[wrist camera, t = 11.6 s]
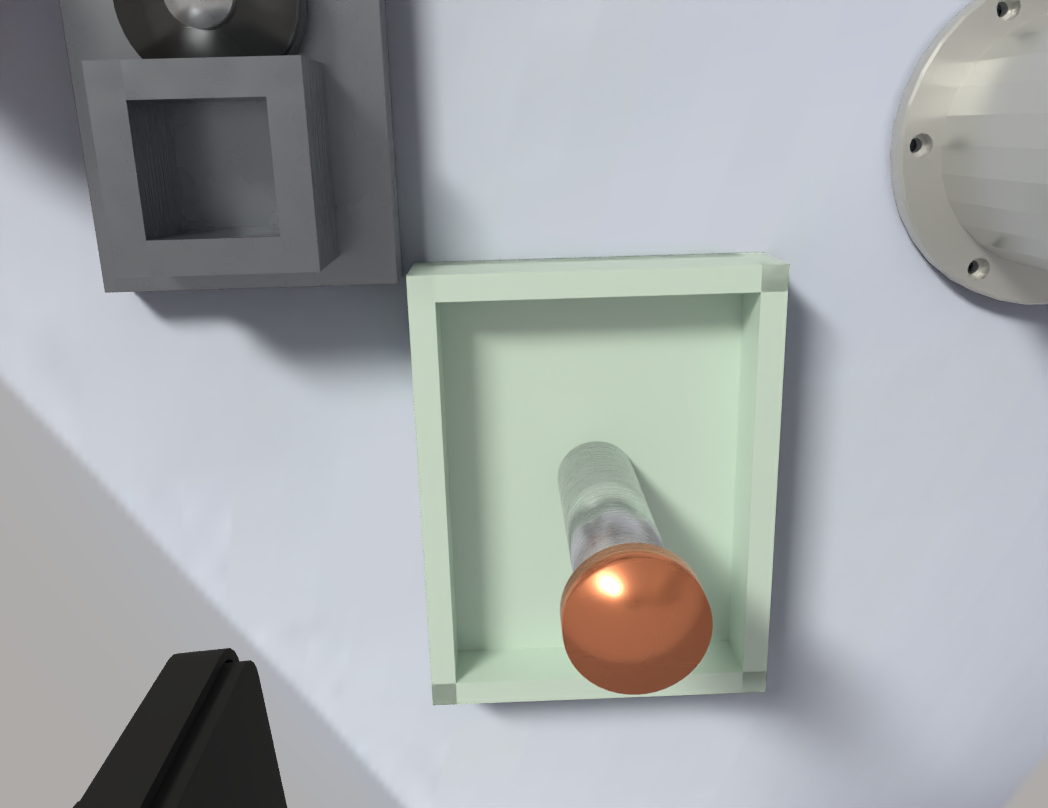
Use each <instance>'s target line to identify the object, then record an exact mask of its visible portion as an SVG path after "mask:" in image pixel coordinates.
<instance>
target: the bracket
mask: <svg viewBox="0 0 1048 808" xmlns="http://www.w3.org/2000/svg"><path fill="white" fill-rule="evenodd" d="M59 2H60V9H61V15H62V21H63V28H64V34H65V40H66V47H67V53H68V59H69V66H70V72H71V79H72V85H73V91H74V98H75V104H76V110H77V117H78V123H79V130H80V136H81V142H82V149H83V155H84V161H85V168H86V174H87V180H88V187H89V193H90V200H91V206H92V212H93V219H94V225H95V231H96V238H97V244H98V250H99V257H100V263H101V270H102V276H103V282H104V289H105V292H138V291H170V290H203V289H235V288H268V287H300V286H333V285H366V284H397V283H398V282H399V280H400V279H401V277H402V261H401V245H400V230H399V214H398V198H397V183H396V167H395V152H394V136H393V120H392V105H391V89H390V73H389V58H388V42H387V27H386V11H385V0H59Z"/></svg>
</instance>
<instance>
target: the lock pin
mask: <svg viewBox="0 0 1048 808" xmlns="http://www.w3.org/2000/svg"><path fill="white" fill-rule="evenodd" d="M557 480H558V487H559V493H560V499H561V505H562V511H563V518H564V524H565V530H566V536H567V542H568V548H569V554H570V560H571V566H572V572H573V573H572V575H571V576H570V578H569V579H568V581H567V583H566V585H565V587H564V590H563V593H562V597H561V602H560V620H561V628H562V636H563V642H564V646H565V650H566V652H567V655H568V657H569V659H570V661H571V662H572V664H573V666H574V667H575V668H576V669H577V671H578V672H579V673H580V674H581V675H582V676H583V677H584V678H586V679H587V680H588V681H590V682H591V683H593V684H595V685H596V686H598V687H600V688H603V689H605V690H608V691H611V692H615V693H619V694H627V695H640V694H648V693H653V692H657V691H660V690H663V689H666V688H668V687H670V686H672V685H674V684H676V683H678V682H679V681H681V680H682V679H684V678H685V677H686V676H688V675H689V674H690V673H691V672H692V671H693V670H694V669H695V668H696V667H697V665H698V664H699V663H700V662H701V660H702V659H703V657H704V655H705V653H706V652H707V649H708V647H709V644H710V641H711V637H712V629H713V618H712V613H711V608H710V605H709V602H708V600H707V598H706V595H705V593H704V591H703V589H702V586H701V584H700V582H699V580H698V578H697V576H696V574H695V573H694V571H693V570H692V568H691V567H690V566H689V565H688V564H687V563H686V562H685V561H684V560H683V559H682V558H680V557H679V556H678V555H676V554H675V553H673V552H671V551H669V550H667V549H665V547H664V545H663V542H662V540H661V537H660V535H659V532H658V530H657V527H656V525H655V522H654V520H653V517H652V514H651V512H650V509H649V507H648V504H647V502H646V499H645V497H644V494H643V492H642V489H641V487H640V484H639V481H638V479H637V476H636V474H635V471H634V469H633V466H632V464H631V462H630V460H629V458H628V457H627V455H626V454H625V453H624V452H623V451H622V450H621V449H620V448H618V447H616V446H615V445H612V444H610V443H607V442H601V441H593V442H587V443H584V444H581V445H579V446H577V447H575V448H574V449H572V450H571V451H570V452H569V453H568V454H567V455H566V456H565V457H564V459H563V460H562V462H561V464H560V467H559V470H558V478H557Z"/></svg>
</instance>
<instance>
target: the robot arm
mask: <svg viewBox="0 0 1048 808" xmlns="http://www.w3.org/2000/svg"><path fill="white" fill-rule="evenodd" d="M998 4H999V5H1000V6H1001V9H1002V12H1001V15H1000V16H998V15H997V5H998ZM913 138H914V139H915V140H916V142H917V146H916V149H915V150H914V151H912V152H911V151H910V143H911V140H912V139H913ZM890 161H891V179H892V188H893V192H894V196H895V200H896V204H897V208H898V212H899V215H900V217H901V219H902V221H903V223H904V225H905V227H906V229H907V231H908V233H909V235H910V238H911V240H912V241H913V242H914V244H915V245H916V246H917V247H918V249H919V250H920V251H921V253H922V254H923V255H924V256H925V258H926V259H927V260H928V262H929V263H931V264H932V265H933V266H934V267H935V268H937V269H938V270H939V271H940V272H941V273H943V274H944V275H945V276H946V277H947V278H949V279H950V280H952V281H954V282H956V283H958V284H959V285H961V286H963V287H965V288H967V289H969V290H971V291H973V292H975V293H978V294H982V295H985V296H988V297H991V298H993V299H996V300H1000V301H1006V302H1012V303H1018V304H1024V305H1037V304H1048V0H974V1H973V2H971V3H970V4H968V5H967V6H966V7H965V8H964V9H963V10H962V11H961V12H959V13H958V14H957V15H956V16H955V17H954V18H953V19H952V20H951V21H950V22H949V23H948V24H947V25H946V26H945V27H944V28H943V29H942V30H941V31H940V32H939V34H938V35H937V36H936V38H935V39H934V40H933V42H932V43H931V44H930V46H929V47H928V49H927V50H926V51H925V53H924V54H923V55H922V57H921V58H920V60H919V62H918V64H917V66H916V67H915V69H914V71H913V73H912V75H911V77H910V79H909V81H908V83H907V85H906V87H905V89H904V92H903V95H902V98H901V102H900V105H899V108H898V111H897V114H896V118H895V121H894V128H893V135H892V143H891V151H890ZM971 262H973V267H972V269H971V270H970V271H968V270H967V269H968V267H969V264H970V263H971ZM73 808H287V805H286V800H285V796H284V791H283V786H282V782H281V777H280V772H279V768H278V763H277V759H276V754H275V749H274V744H273V740H272V735H271V730H270V726H269V722H268V717H267V712H266V707H265V703H264V698H263V693H262V689H261V684H260V679H259V675H258V671H257V668H256V666H255V664H254V662H252V661H251V660H250V661H240V662H239V659H238V657H237V655H236V653H235V651H234V650H232V649H231V648H227V649H217V650H207V651H197V652H189V653H179V654H174V655H173V656H172V657H171V658H170V659H169V660H168V662H167V663H166V665H165V666H164V668H163V670H162V671H161V673H160V674H159V676H158V677H157V679H156V681H155V682H154V684H153V685H152V687H151V689H150V690H149V692H148V693H147V695H146V697H145V698H144V700H143V701H142V703H141V705H140V706H139V708H138V709H137V711H136V712H135V714H134V716H133V717H132V719H131V721H130V722H129V724H128V725H127V727H126V729H125V730H124V732H123V733H122V735H121V736H120V738H119V740H118V741H117V743H116V744H115V746H114V748H113V749H112V751H111V752H110V754H109V756H108V757H107V759H106V760H105V762H104V764H103V765H102V767H101V768H100V770H99V771H98V773H97V775H96V776H95V778H94V779H93V781H92V783H91V784H90V786H89V787H88V789H87V791H86V792H85V794H84V795H83V797H82V799H81V800H80V801H79V802H77V803H76V804H75V806H74V807H73Z"/></svg>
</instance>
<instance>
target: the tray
mask: <svg viewBox="0 0 1048 808" xmlns="http://www.w3.org/2000/svg"><path fill="white" fill-rule="evenodd" d="M789 265H790V264H788V263H786V262H783V261H781V260H779V259H777V258H775V257H773V256H770V255H768V254H766V253H764V252H749V253H716V254H683V255H650V256H617V257H584V258H551V259H518V260H484V261H451V262H418V263H414V264H413V265H412V267H411V269H410V270H409V272H408V274H407V275H406V284H407V300H408V316H409V332H410V347H411V363H412V379H413V395H414V411H415V427H416V443H417V459H418V475H419V491H420V506H421V522H422V538H423V554H424V570H425V586H426V602H427V618H428V634H429V650H430V665H431V681H432V697H433V705H450V704H475V703H500V702H525V701H550V700H575V699H600V698H625V697H650V696H675V695H700V694H725V693H750V692H766V676H767V658H768V640H769V622H770V604H771V586H772V569H773V551H774V533H775V515H776V497H777V479H778V461H779V443H780V425H781V408H782V390H783V372H784V354H785V336H786V318H787V300H788V282H789ZM593 441H601V442H607V443H610V444H612V445H615V446H616V447H618V448H620V449H621V450H622V451H623V452H624V453H625V454H626V455H627V457H628V458H629V460H630V462H631V464H632V466H633V469H634V471H635V474H636V476H637V479H638V481H639V484H640V487H641V489H642V492H643V494H644V497H645V499H646V502H647V504H648V507H649V509H650V512H651V514H652V517H653V520H654V522H655V525H656V527H657V530H658V532H659V535H660V537H661V540H662V542H663V545H664V547H665V549H667V550H669V551H671V552H673V553H675V554H676V555H678V556H679V557H680V558H682V559H683V560H684V561H685V562H686V563H687V564H688V565H689V566H690V567H691V568H692V570H693V571H694V573H695V574H696V576H697V578H698V580H699V582H700V584H701V586H702V589H703V591H704V593H705V595H706V598H707V600H708V602H709V605H710V608H711V613H712V618H713V629H712V637H711V641H710V644H709V647H708V649H707V652H706V653H705V655H704V657H703V659H702V660H701V662H700V663H699V664H698V665H697V667H696V668H695V669H694V670H693V671H692V672H691V673H690V674H689V675H688V676H686V677H685V678H684V679H682V680H681V681H679V682H678V683H676V684H674V685H672V686H670V687H668V688H666V689H663V690H660V691H657V692H653V693H648V694H640V695H627V694H619V693H615V692H611V691H608V690H605V689H603V688H600V687H598V686H596V685H595V684H593V683H591V682H590V681H588V680H587V679H586V678H584V677H583V676H582V675H581V674H580V673H579V672H578V671H577V669H576V668H575V667H574V666H573V664H572V662H571V661H570V659H569V657H568V655H567V652H566V650H565V646H564V642H563V636H562V628H561V620H560V602H561V597H562V593H563V590H564V587H565V585H566V583H567V581H568V579H569V578H570V576H571V575H572V573H573V572H572V566H571V560H570V554H569V548H568V542H567V536H566V530H565V524H564V518H563V511H562V505H561V499H560V493H559V487H558V480H557V478H558V470H559V467H560V464H561V462H562V460H563V459H564V457H565V456H566V455H567V454H568V453H569V452H570V451H571V450H572V449H574V448H575V447H577V446H579V445H581V444H584V443H587V442H593Z"/></svg>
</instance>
